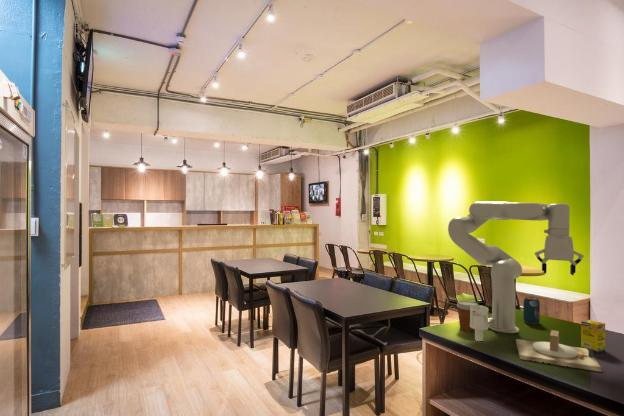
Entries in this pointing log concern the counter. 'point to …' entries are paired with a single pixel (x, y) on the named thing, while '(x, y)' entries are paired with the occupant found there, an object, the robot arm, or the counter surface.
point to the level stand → (578, 362)
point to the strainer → (479, 320)
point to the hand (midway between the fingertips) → (558, 273)
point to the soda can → (531, 310)
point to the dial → (555, 347)
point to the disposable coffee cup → (465, 314)
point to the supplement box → (593, 335)
